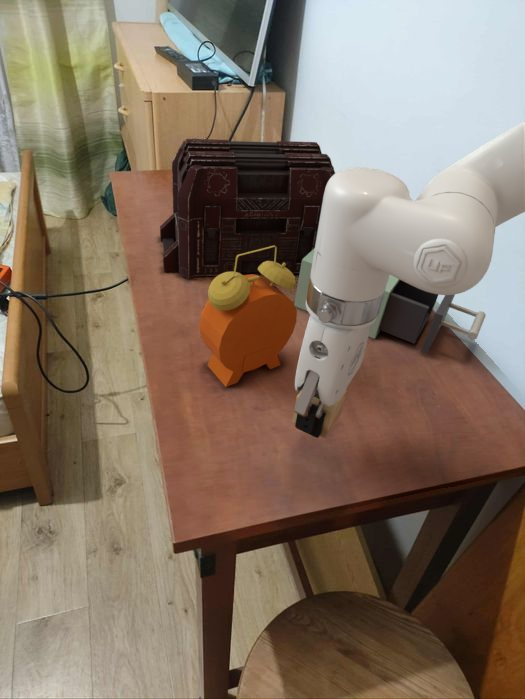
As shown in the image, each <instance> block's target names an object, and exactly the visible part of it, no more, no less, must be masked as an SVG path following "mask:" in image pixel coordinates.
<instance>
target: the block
mask: <svg viewBox="0 0 525 699" xmlns="http://www.w3.org/2000/svg"><path fill="white" fill-rule="evenodd" d="M301 391H302V390H301ZM301 391H299V392H298V394H297V395H296V399H295V404H294V407H295V406H296V404H297V401H298V399H299V396H300V394H301ZM347 392H348V389H347V388H346V390H345V391H344V393H343V394H342V396H341V397H340V399H339V400H338V401H337V402H336V403H335V404H334V405H332V406H327V405H325V408H324V411H323V412H324V413H326V414H325V418H324V423H323V427H322V431H321V434H320V436H319V437H322V438H323V439H327V437H328V436H329V434H330V433H331V431H332V430H333V428H334V426H335V425H336V423H337V422H338V420H339V418H340V417H341V416H342V415H341V414H342V411H343V407H344V403H345V401H346V396H347ZM319 401H320V399H318V398H316V397H314V398H313V400H312V404H314V405H316V406H318V404H319ZM296 418H297V413H295V412H294V411H293V416H292V420H291V423H292V424H294V425H295V423H296Z"/></svg>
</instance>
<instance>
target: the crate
mask: <svg viewBox="0 0 525 699" xmlns="http://www.w3.org/2000/svg"><path fill="white" fill-rule="evenodd" d="M335 173H336V171H335V168H334V165H333V163H332V159H331V157H330V156H329V155H328V154H327V153H322V149H321V145H320V144H318V142H316V141H289V140H288V141H284V140H277V141H244V140H243V141H241V140H239V141H238V140H237V141H236V140H229V139H207V138H201V139H200V138H184V140H183V141H182V143H181V145H180V146H179V148H178V150H177V152H176V154H175V155H174V157H173V159H172V162H171V184H172V185H171V187H172V214H171V215H170V216H169V217H168V218H167V219H166V220H164V222H163V223H161V225H160V226H159V237H160V242H161V243H162V248H163V253H162V267H163V268H162V269H163V272H164V273H166V272H168V273H169V272H171V273H172V272H178V275H179V276H181V277H182V278H183V277H184V278H185V279H189V280H190V279H191V278H194V277H207V276H218V275H220V274H222V273H225V272H234V268H235V261H236V256H237V255H239V254H243V253H246V252H250V251H254V250H258V249H262V248H266V247H270V246H276V247H277V251H276V263H279V264H281V265H282V264H283V262H284V263H286V266H285V267H286V268H287V269H288V270H290V271H291V272H292V274H300V269H301V264H302V259H303V258H304V257H306V256H307V255H308V254H309V253H310V252H311V251H312V250H313V249H314V248H315V244H316V238H317V232H318V226H319V220H320V214H321V208H322V202H323V197H324V192H325V188H326V185H327V183H328V181H329V179H330V178H331V177H332V176H333V175H334V174H335ZM274 257H275V247H272V248H268V249H264V250H261V251H257V252H253V253H249V254H245V255H241V256H239V257H238V259H237V266H236V272H238V273H240V274H245V273H246V274H247V273H249V274H250V273H260V272H259V270H258V267H259V266H260V265H261V264H262V263H263V262H266V261H273V262H274Z"/></svg>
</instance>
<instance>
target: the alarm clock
mask: <svg viewBox="0 0 525 699" xmlns="http://www.w3.org/2000/svg"><path fill="white" fill-rule="evenodd" d="M272 247H275V257H274V262H273V261H266V262H263V263H262V264H261V265H260V266H259V267H258V270H259V272H258V273H260V274H261V275H258V274H252V273H251V274H244V275H243V273H241V274H240V273H238V272H236V266H237V259H238V257H239V256H241V255H245V254H249V253H253V252H257V251H261V250H264V249H268V248H272ZM276 251H277V247H276V246H270V247H266V248H262V249H258V250H254V251H250V252H246V253H243V254H239V255H237V256H236V261H235V268H234V272H225V273H222V274H220V275H216V276H215V277H214V278H213V279H212V280H211V283H210V284H209V287H208V290H207V296H208V300H207V301H206V302H205V305H204V307H203V309H202V311H201V313H200V319H199V323H198V325H199V326H198V327H199V334H200V335H199V336H200V339H201V340H202V342H203V343H204V344H205V346H206V347H207V349H208V350H209V351H210V352H211V353H212V354H211V356H210V359H209V360H208V363H207V367H208V368H209V369H210V370H211V372H212V373H213V374H214V375H215V377H217V379H218V380H219V381H220V382H221V383H222V385H223V386H224V387H225V388H228V387H229V386H232V385H234V384H238V383H239V381H240V379H241V377H242V376H243V374H244V373H246V372H249V371H254V370H257V369H258V368H260V367H262V366H264V365H265V366H266V367H267V368H268V369H269V370H272V369H274V368H275V369H276V368H277V367H279V366H281V362H280V359H279V356H278V354H280V352H281V351H282V350H283V349H284V348H285V346H286V345H287V344H288V342H289V341H290V339H291V337H292V335H293V333H294V331H295V327H296V325H297V317H298V311H297V307H296V306H295V305H294V303H295V301H293V300H292V299H290V298H289V297H288V296H287V295H286V294H285V293H283V292H282V291H281V290H280V289H279V288H278V287H277V286H279V287H281V288H283V289H286V290H289V291H294V290H295V288H296V283H297V282H296V276H295V275H294V273H292V272H291V271H290V270H288V269H287V268H286V267H285V266H286V263H284V262H283V264H282V265H281V264H279V263H276ZM275 285H277V286H275Z"/></svg>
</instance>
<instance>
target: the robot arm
mask: <svg viewBox="0 0 525 699" xmlns="http://www.w3.org/2000/svg"><path fill="white" fill-rule="evenodd" d="M523 213H525V121H523V122H520V123H519V124H517V125H515V126H513V127H511V128H510V129H507V130H506V131H504V132H502V133H500V134H499V135H497V136H495V137H493V138H492V139H491V140H489V141H488V142H486V143H484V144H483V145H481V146H479V147H478V148H476V149H475V150H473V151H472V152H470V153H468V154H466V155H464V156H463V157H461V158H460V159H459V160H457V161H455V162H454V163H452V164H451V165H449V166H448V167H446V168H445V169H443V170H442V171H440V172H439V173H437V174H436V175H435V176H433V178H431V179H430V180H429V181H428V182H427V183H426V185H425V186H423V188H422V189H421V190H420V192H419V193H418V195H417V197H416V198H415V200H414V199H412V198H411V195H410V191H409V188H408V186H407V185H406V183H405V182H404V181H403V180H402V179H400V177H398V176H396V175H394V174H392V173H389V172H387V171H384V170H380V169H376V168H371V167H348V168H347V167H346V168H344V169H341V170H339V171H336V172H335V174H334V175H333V176H332V177H331V178H330V179H329V181H328V183H327V185H326V188H325V192H324V197H323V202H322V208H321V214H320V220H319V226H318V232H317V238H316V244H315V250H314V256H313V262H312V268H311V275H310V280H309V286H308V292H307V297H306V308H307V311H306V312H308V314H309V318H308V321H307V325H306V328H305V330H304V335H303V339H302V343H301V348H300V350H299V351H300V352H299V357H298V360H297V365H296V371H295V377H294V389H295V391H296V393H300V392H301V394H300V396H299V399H298V401H297V404H296V403H295V404H296V406H295V405H294V409H293V413H294V412H295V413H297V418H296V423H295V424H294V427H295V428H296V429H297V430H298V431H299V430H300V431H301V432H303V433H304V434H307V435H309V436H312V437H313V438H315V439H318V438H320V437H321V436H320V434H321V431H322V427H323V423H324V418H325V414H326V413H324V412H323V411H324V408H325V405H327V406H332V405H334V404H335V403H336V402H337V401H338V400H339V399H340V397H341V396H342V394H343V393H344V391H345V390H346V389H347V388H348V387H349V385H350V384H351V382H352V380H353V379H354V377H355V376H356V374H357V372H358V371H359V370H360V368H361V367H362V363H363V361H364V357H365V353H366V350H367V344H368V340H369V331H370V327H371V325H372V324H373V323H374V322H375V321H376V319H377V317H378V313H379V309H380V306H381V302H382V299H383V295H384V292H385V289H386V285H387V282H388V278H389V275H392V276H394V277H396V278H398V279H400V280H402V281H404V282H406V283H408V284H410V285H412V286H414V287H416V288H418V289H421V290H423V291H426V292H429V293H433V294H438V296H445V295H454V294H455V295H459V294H462V293H465V292H468V291H469V290H471V289H472V288H474V287H476V286H477V285H478V284H479V283H480V282H481V281H482V280H483V278H484V277H485V275H486V274H487V272H488V270H489V268H490V266H491V263H492V258H493V252H494V243H495V235H496V227H499V226H500V225H503V224H504V223H506V222H508V221H510V220H511V219H513V218H515V217H517V216H519V215H521V214H523ZM301 390H302V391H301ZM314 397H316V398H318V399H320V401H319V404H318V406H316V405H314V404H312V400H313V398H314Z"/></svg>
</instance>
